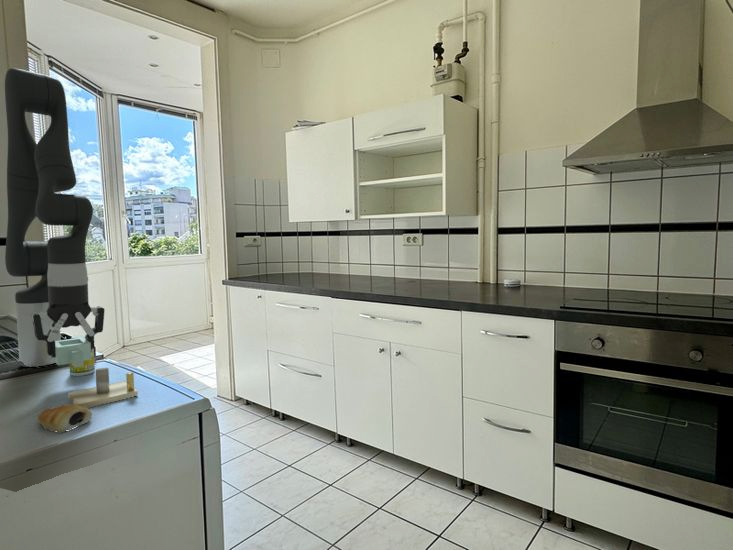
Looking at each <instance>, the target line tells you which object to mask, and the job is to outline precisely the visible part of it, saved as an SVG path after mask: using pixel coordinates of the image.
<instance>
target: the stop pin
mask: <svg viewBox="0 0 733 550" xmlns="http://www.w3.org/2000/svg"><path fill="white" fill-rule="evenodd" d="M134 373H135V372H128V373H126V374H125V375H126V383H127V391H134V389H135V374H134Z"/></svg>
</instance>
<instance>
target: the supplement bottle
mask: <svg viewBox="0 0 733 550" xmlns="http://www.w3.org/2000/svg"><path fill="white" fill-rule="evenodd" d="M85 335H86V334H76V335H73V336H71V338H70V339H75V338H82V337H84V338H85ZM83 364H84V366H81V367H76V368H75V367H74V366H73V365H72V364H71V363H69V364H68V365H69V374H70V375H71V376H74V377H80V376H86V375H87V376H88V375H90V374H93V373H94V372H96V367H95V366H96V365H95V364H96V363H95V348H94V349H92V351H91V360H86V361H83Z"/></svg>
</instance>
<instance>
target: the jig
mask: <svg viewBox="0 0 733 550" xmlns="http://www.w3.org/2000/svg"><path fill="white" fill-rule="evenodd" d="M109 372H110V371H109V368H108V367H100V368H95V387H89V388H84V389H79V390H76V391H75V390H74V391H71V392H68V394H67V395H68V396H67V397H68V399H69V401H70V402H71V403H72V405H74V404H75V405H78V406H81V407H86V408H88V409H90V408H93V407H94V408H95V407H98V405H99V406H102V404H103V405H107V404H111V403H115V401H116V402H119V400H120V401H123V400H122V399H124V400H127V399H126V398H128V399H131V398H130V397H132V398H135V397H134V396H137V395H138V390H137V389H136V388H134V391H127V381H126V380H125V381H123V380H122V381H118V382H114V383H110V376H109V375H110V373H109ZM137 397H138V396H137ZM110 402H111V403H110ZM106 403H107V404H106Z"/></svg>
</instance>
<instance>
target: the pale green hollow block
mask: <svg viewBox="0 0 733 550" xmlns="http://www.w3.org/2000/svg"><path fill="white" fill-rule="evenodd" d="M55 353H56V357H54V358H52V359H53V360H54V361H55V363H56V364H55V365H57V366H63V365H69V363H71V364H72V365H73V366H74V367H75V368H76V367H81V366H84V364H83V361H86V360H91V343H90V342H89V341H87V340H86V339H85V338H84V337H82V338H75V339H71V338H70V339H69V338H68V339H61V340H60V341H55Z"/></svg>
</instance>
